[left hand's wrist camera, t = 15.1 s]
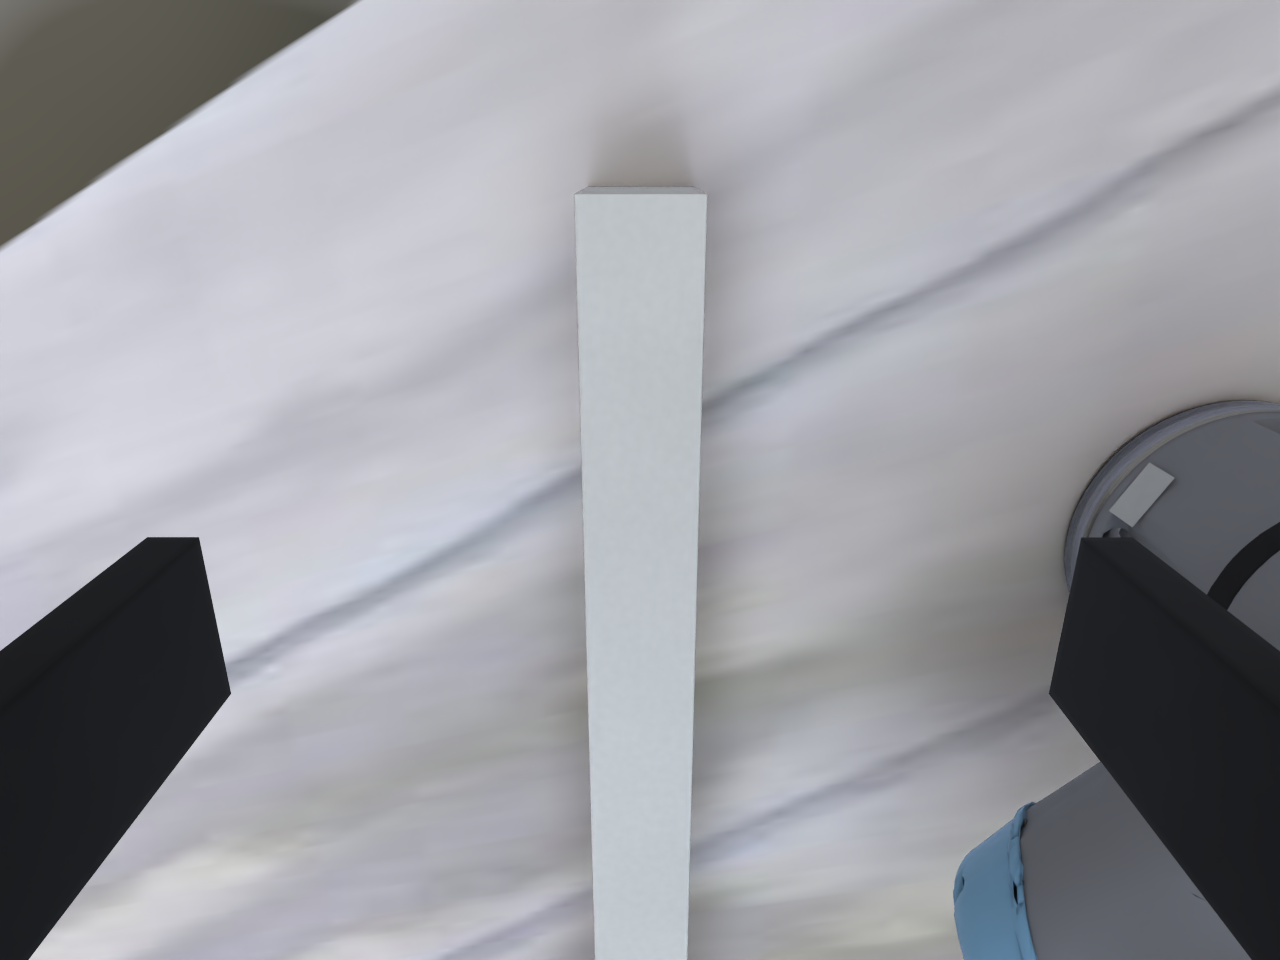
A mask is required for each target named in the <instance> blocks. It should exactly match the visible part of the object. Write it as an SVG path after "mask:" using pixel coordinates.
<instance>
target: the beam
mask: <svg viewBox="0 0 1280 960" xmlns="http://www.w3.org/2000/svg"><path fill="white" fill-rule="evenodd" d="M574 209H575V246H576V283H577V320H578V357H579V394H580V431H581V468H582V505H583V542H584V579H585V616H586V653H587V690H588V727H589V764H590V801H591V838H592V875H593V912H594V949H595V960H687V951H688V913H689V875H690V837H691V799H692V761H693V723H694V685H695V647H696V609H697V571H698V533H699V495H700V457H701V419H702V381H703V343H704V305H705V267H706V229H707V194H706V193H704V192H703V191H701V190H699V189H697V188H695V187H586V188H585V189H583V190H581V191H579V192H577V193H575V194H574Z"/></svg>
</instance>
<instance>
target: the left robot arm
mask: <svg viewBox="0 0 1280 960" xmlns="http://www.w3.org/2000/svg"><path fill="white" fill-rule="evenodd" d="M1065 574H1066V581H1067V585H1068V589H1069V592H1070V594H1069V599H1068V604H1067V609H1066V614H1065V618H1064V623H1063V628H1062V633H1061V638H1060V643H1059V648H1058V653H1057V657H1056V662H1055V667H1054V672H1053V677H1052V682H1051V687H1050V691H1049V694H1050V696H1051V697H1052V698H1053V700H1054V701H1055V702H1056V704H1057V705H1058V706H1059V707H1060V709H1061V710H1062V711H1063V713H1064V714H1065V715H1066V717H1067V718H1068V719H1069V721H1070V722H1071V723H1072V725H1073V726H1074V727H1075V728H1076V730H1077V731H1078V732H1079V734H1080V735H1081V736H1082V738H1083V739H1084V740H1085V742H1086V743H1087V744H1088V746H1089V747H1090V748H1091V749H1092V751H1093V752H1094V753H1095V755H1096V756H1097V757H1098V759H1099V760H1100V761H1101V762H1099V763H1098V764H1096V765H1095V766H1093V767H1092V768H1090V769H1089V770H1087V771H1086V772H1084V773H1082V774H1081V775H1079V776H1078V777H1076V778H1075V779H1073V780H1072V781H1070V782H1069V783H1067V784H1066V785H1064V786H1063V787H1061V788H1060V789H1058V790H1057V791H1055V792H1054V793H1052V794H1051V795H1049V796H1047V797H1046V798H1044V799H1043V800H1041V801H1039V802H1038V803H1034V802H1031V803H1028V804H1026V805H1024V806H1023V807H1022V808H1020V809H1019V810H1018V811H1017V813H1016V815H1015V817H1014V819H1013V820H1011V821H1010V822H1009V823H1007V824H1006V825H1005V826H1003V827H1002V828H1001V829H999V830H998V831H997V832H996V833H994V834H993V835H992V836H990V837H989V838H988V839H986V840H985V841H984V842H982V843H981V844H980V845H978V846H977V847H976V848H974V849H973V850H972V851H970V853H969V854H968V855H967V856H966V857H965V858H964V860H963V861H962V863H961V865H960V867H959V869H958V871H957V874H956V878H955V884H954V891H953V897H954V906H955V907H954V909H955V913H954V917H955V923H956V928H957V934H958V938H959V942H960V946H961V950H962V953H963V957H964V960H1280V405H1279V404H1275V403H1270V402H1262V401H1245V400H1239V401H1227V402H1220V403H1214V404H1208V405H1205V406H1201V407H1197V408H1193V409H1191V410H1188V411H1185V412H1182V413H1179V414H1177V415H1175V416H1172V417H1170V418H1168V419H1166V420H1164V421H1162V422H1160V423H1158V424H1156V425H1155V426H1153V427H1151V428H1149V429H1148V430H1146V431H1145V432H1143V433H1142V434H1140V435H1139V436H1137V437H1136V438H1134V439H1133V440H1132V441H1130V442H1129V443H1128V444H1127V445H1125V446H1124V447H1123V448H1122V449H1121V450H1120V451H1119V452H1117V453H1116V454H1115V455H1114V456H1113V457H1112V458H1111V459H1110V460H1109V461H1108V462H1107V463H1106V465H1105V466H1104V467H1103V468H1102V469H1101V470H1100V471H1099V473H1098V474H1097V475H1096V476H1095V478H1094V479H1093V480H1092V482H1091V483H1090V485H1089V486H1088V488H1087V489H1086V491H1085V493H1084V494H1083V496H1082V498H1081V500H1080V502H1079V504H1078V506H1077V508H1076V510H1075V513H1074V515H1073V517H1072V521H1071V524H1070V527H1069V530H1068V535H1067V539H1066V546H1065ZM230 694H231V691H230V687H229V682H228V677H227V672H226V667H225V662H224V657H223V653H222V648H221V643H220V638H219V633H218V628H217V623H216V618H215V614H214V609H213V604H212V599H211V594H210V589H209V584H208V580H207V575H206V570H205V565H204V560H203V555H202V550H201V545H200V541H199V537H147V538H146V539H145V540H143V541H142V542H141V543H140V544H138V545H137V546H136V547H134V548H133V549H132V550H130V551H129V552H128V553H127V554H125V555H124V556H123V557H121V558H120V559H119V560H118V561H116V562H115V563H114V564H112V565H111V566H110V567H108V568H107V569H106V570H105V571H103V572H102V573H101V574H99V575H98V576H97V577H96V578H94V579H93V580H92V581H90V582H89V583H88V584H86V585H85V586H84V587H83V588H81V589H80V590H79V591H77V592H76V593H75V594H74V595H72V596H71V597H70V598H68V599H67V600H66V601H64V602H63V603H62V604H61V605H59V606H58V607H57V608H55V609H54V610H53V611H52V612H50V613H49V614H48V615H46V616H45V617H44V618H42V619H41V620H40V621H39V622H37V623H36V624H35V625H33V626H32V627H31V628H30V629H28V630H27V631H26V632H24V633H23V634H22V635H20V636H19V637H18V638H17V639H15V640H14V641H13V642H11V643H10V644H9V645H8V646H6V647H5V648H4V649H2V650H1V651H0V960H29V958H30V957H31V956H32V954H33V953H34V952H35V950H36V949H37V948H38V946H39V945H40V944H41V942H42V941H43V940H44V939H45V937H46V936H47V935H48V933H49V932H50V931H51V929H52V928H53V927H54V925H55V924H56V923H57V921H58V920H59V919H60V918H61V916H62V915H63V914H64V912H65V911H66V910H67V908H68V907H69V906H70V904H71V903H72V902H73V900H74V899H75V898H76V897H77V895H78V894H79V893H80V891H81V890H82V889H83V887H84V886H85V885H86V883H87V882H88V881H89V879H90V878H91V877H92V876H93V874H94V873H95V872H96V870H97V869H98V868H99V866H100V865H101V864H102V862H103V861H104V860H105V858H106V857H107V856H108V855H109V853H110V852H111V851H112V849H113V848H114V847H115V845H116V844H117V843H118V841H119V840H120V839H121V837H122V836H123V835H124V834H125V832H126V831H127V830H128V828H129V827H130V826H131V824H132V823H133V822H134V820H135V819H136V818H137V816H138V815H139V814H140V812H141V811H142V810H143V809H144V807H145V806H146V805H147V803H148V802H149V801H150V799H151V798H152V797H153V795H154V794H155V793H156V791H157V790H158V789H159V788H160V786H161V785H162V784H163V782H164V781H165V780H166V778H167V777H168V776H169V774H170V773H171V772H172V770H173V769H174V768H175V767H176V765H177V764H178V763H179V761H180V760H181V759H182V757H183V756H184V755H185V753H186V752H187V751H188V749H189V748H190V747H191V746H192V744H193V743H194V742H195V740H196V739H197V738H198V736H199V735H200V734H201V732H202V731H203V730H204V728H205V727H206V726H207V725H208V723H209V722H210V721H211V719H212V718H213V717H214V715H215V714H216V713H217V711H218V710H219V709H220V707H221V706H222V705H223V704H224V702H225V701H226V700H227V698H228V697H229V696H230Z"/></svg>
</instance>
